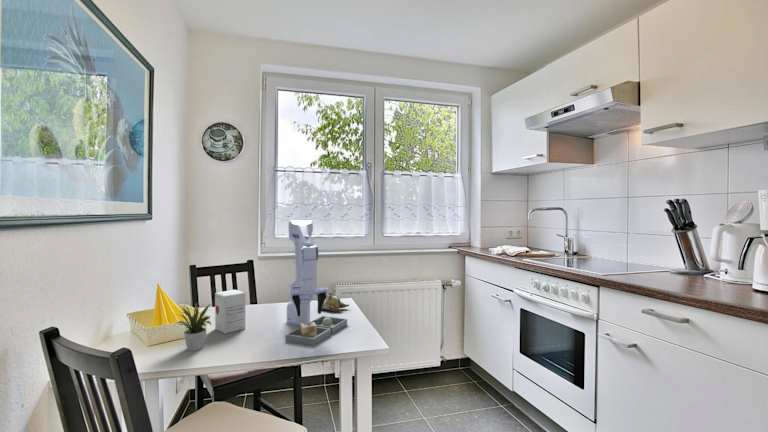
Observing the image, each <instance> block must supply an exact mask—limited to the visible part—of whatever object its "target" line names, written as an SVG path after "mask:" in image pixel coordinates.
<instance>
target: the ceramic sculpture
mask: <svg viewBox="0 0 768 432" xmlns="http://www.w3.org/2000/svg"><path fill="white" fill-rule="evenodd" d="M349 306H350V304H346V303H344V302H341V298H340V297H339V296H337V295H333V292H331V293H329V294H326V299H325V301H324V303H323V306H322V309H321V311H323V310H327V311H329V310H330V311H329V312H334V313H338V312H341V311H342V309H343V308H347V307H349Z"/></svg>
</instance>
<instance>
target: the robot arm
mask: <svg viewBox="0 0 768 432" xmlns="http://www.w3.org/2000/svg"><path fill="white" fill-rule="evenodd" d="M313 230H314V225H313V221H312V220H311V219H309V220H305V219H304V220H302V219H301V220H299V219H298V220H296V219H295V220H291V219H289V221H288V238H289V241H292V242H293V245H294V260H295V261H294V264H295V279H294V280H293V281H291V282H290V284H289V291H288V297H289V302H288V304H287V306H286V321H285V323H286V324H292V325H300V326H301V324H302V323H309V322H311V321H313V320H314V319H312V318H311V303H312V301H313V299H314V298H315V297H314V296H315V295H316V296H317V314H319V315H320V314H322V310H321V309H322V306H323V303H324V301H325V299H326V295H327V294H330V293H329V288H328V287H318V284H317V283H318V280H317V279H318V278H317V276H318V275H317V272H318V270H317V269H318V268H317V267H318V264H317V263H318V261H319V247H318V245H316V244H315V242H314V239H313V237H312V234H313Z"/></svg>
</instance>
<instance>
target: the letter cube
mask: <svg viewBox="0 0 768 432" xmlns="http://www.w3.org/2000/svg"><path fill="white" fill-rule="evenodd" d="M300 327H301V336H302V337H309V338H314V337H316V336H317V326H316V324H315V323H314V322H310V323H302V324H301V325H300Z"/></svg>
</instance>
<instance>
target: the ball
mask: <svg viewBox="0 0 768 432" xmlns="http://www.w3.org/2000/svg"><path fill="white" fill-rule="evenodd" d="M329 317H330V316H327V317H326V318H324V319H323V321H322V324H323V326H329V327H330V326H331V325H332V320H331V319H330V318H329Z"/></svg>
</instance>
